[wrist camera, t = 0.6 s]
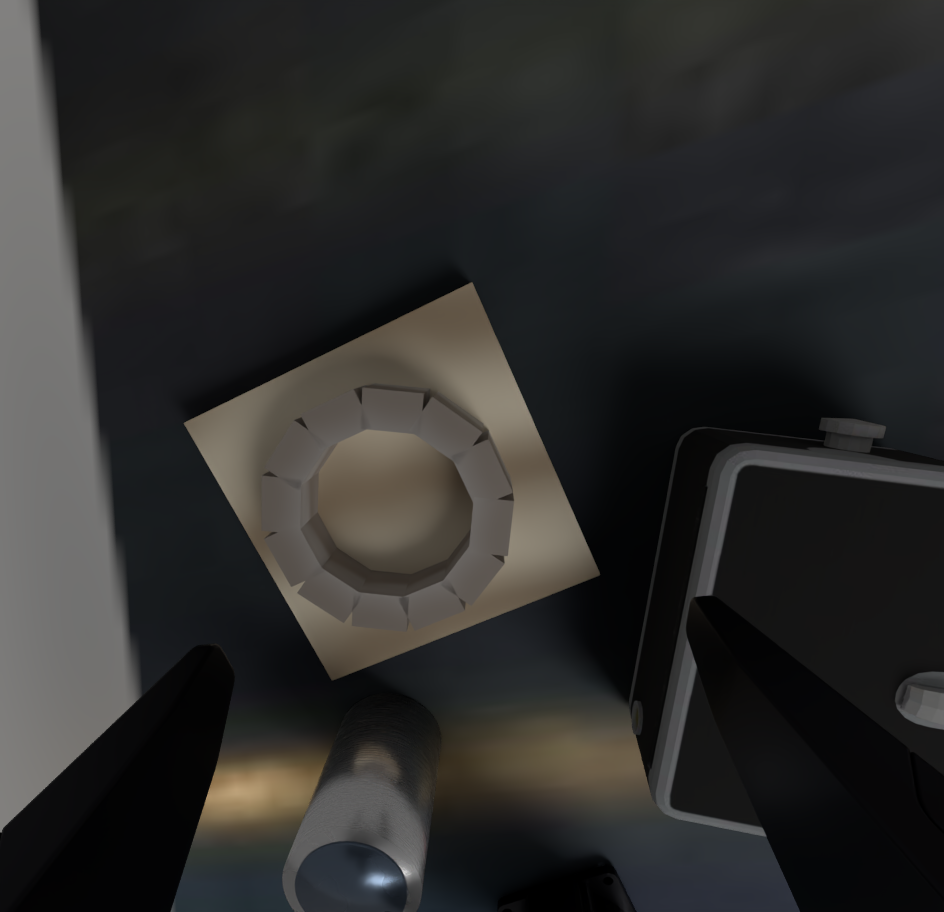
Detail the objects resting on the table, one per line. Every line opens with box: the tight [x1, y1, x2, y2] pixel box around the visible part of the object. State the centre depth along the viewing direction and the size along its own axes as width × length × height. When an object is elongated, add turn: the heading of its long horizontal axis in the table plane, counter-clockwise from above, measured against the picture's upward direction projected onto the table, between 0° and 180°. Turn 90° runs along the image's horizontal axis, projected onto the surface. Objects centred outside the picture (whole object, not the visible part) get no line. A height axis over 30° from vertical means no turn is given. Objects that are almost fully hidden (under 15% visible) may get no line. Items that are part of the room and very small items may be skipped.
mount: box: [184, 282, 600, 681], centre depth 21 cm, size 13×13×3 cm
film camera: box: [629, 418, 944, 837], centre depth 19 cm, size 8×16×15 cm
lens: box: [282, 693, 441, 912], centre depth 21 cm, size 5×5×7 cm
